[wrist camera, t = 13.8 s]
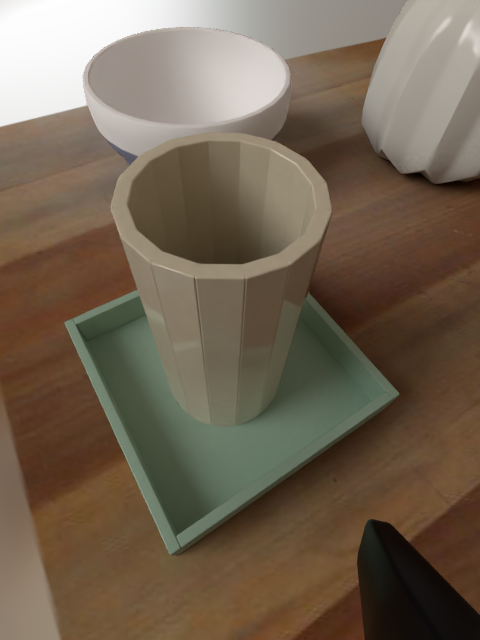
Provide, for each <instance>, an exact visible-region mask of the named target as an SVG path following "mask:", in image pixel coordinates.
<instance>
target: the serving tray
mask: <svg viewBox="0 0 480 640" xmlns="http://www.w3.org/2000/svg"><path fill="white" fill-rule="evenodd" d="M65 325H66V328H67V330H68V332H69V334H70V336H71V339H72V341H73V343H74V345H75V347H76V350H77V352H78V354H79V356H80V358H81V361H82V363H83V365H84V367H85V369H86V372H87V374H88V376H89V378H90V380H91V383H92V385H93V387H94V389H95V391H96V394H97V396H98V398H99V400H100V402H101V405H102V407H103V409H104V411H105V413H106V416H107V418H108V420H109V422H110V424H111V427H112V429H113V431H114V433H115V435H116V438H117V440H118V442H119V444H120V446H121V449H122V451H123V453H124V455H125V457H126V460H127V462H128V464H129V466H130V468H131V471H132V473H133V475H134V477H135V479H136V482H137V484H138V486H139V488H140V490H141V493H142V495H143V497H144V499H145V501H146V503H147V506H148V508H149V510H150V512H151V514H152V517H153V519H154V521H155V523H156V525H157V528H158V530H159V532H160V534H161V536H162V539H163V541H164V543H165V545H166V547H167V550H168V552H169V554H170V555H176V556H178V555H179V554H181V553H182V552H183V551H185V550H186V549H188V548H189V547H190V546H192V545H193V544H195V543H196V542H198V541H199V540H200V539H202V538H203V537H205V536H206V535H207V534H209V533H210V532H212V531H213V530H214V529H216V528H217V527H219V526H220V525H222V524H223V523H224V522H226V521H227V520H229V519H230V518H231V517H233V516H234V515H236V514H237V513H238V512H240V511H241V510H243V509H244V508H246V507H247V506H248V505H250V504H251V503H253V502H254V501H255V500H257V499H258V498H260V497H261V496H263V495H264V494H265V493H267V492H268V491H270V490H271V489H272V488H274V487H275V486H277V485H278V484H279V483H281V482H282V481H284V480H285V479H287V478H288V477H289V476H291V475H292V474H294V473H295V472H296V471H298V470H299V469H301V468H302V467H303V466H305V465H306V464H308V463H309V462H311V461H312V460H313V459H315V458H316V457H318V456H319V455H320V454H322V453H323V452H325V451H326V450H328V449H329V448H330V447H332V446H333V445H335V444H336V443H337V442H339V441H340V440H342V439H343V438H344V437H346V436H347V435H349V434H350V433H352V432H353V431H354V430H356V429H357V428H359V427H360V426H361V425H363V424H364V423H366V422H367V421H368V420H370V419H371V418H373V417H374V416H376V415H377V414H378V413H380V412H381V411H383V410H384V409H385V408H386V407H387V406H388V405H389V404H390V403H391V402H392V401H393V400H394V399H395V398H396V397H397V396H399V392H398V391H397V390H396V389H395V388H394V387H393V386H392V385H391V383H390V382H389V381H388V380H387V379H386V378H385V377H384V376H383V375H382V373H381V372H380V371H379V370H378V369H377V368H376V367H375V366H374V365H373V363H372V362H371V361H370V360H369V359H368V358H367V357H366V356H365V355H364V353H363V352H362V351H361V350H360V349H359V348H358V347H357V346H356V345H355V343H354V342H353V341H352V340H351V339H350V338H349V337H348V336H347V335H346V333H345V332H344V331H343V330H342V329H341V328H340V327H339V326H338V324H337V323H336V322H335V321H334V320H333V319H332V318H331V317H330V316H329V314H328V313H327V312H326V311H325V310H324V309H323V308H322V307H321V306H320V304H319V303H318V302H317V301H316V300H315V299H314V298H313V297H312V296H311V294H310V293H309V292H308V295H307V298H306V301H305V305H304V308H303V311H302V314H301V318H300V321H299V324H298V328H297V331H296V334H295V338H294V341H293V344H292V347H291V351H290V354H289V357H288V361H287V364H286V367H285V370H284V374H283V377H282V380H281V383H280V385H279V388H278V391H277V394H276V396H275V398H274V400H273V401H272V403H271V404H270V406H269V407H268V408H267V409H266V410H265V411H264V412H263V413H262V414H261V415H259V416H258V417H256V418H255V419H253V420H251V421H249V422H247V423H244V424H241V425H236V426H230V427H219V426H212V425H208V424H205V423H202V422H200V421H198V420H196V419H194V418H192V417H191V416H189V415H188V414H187V413H186V412H185V411H184V410H182V408H181V407H180V406H179V405H178V403H177V402H176V400H175V399H174V397H173V395H172V392H171V389H170V386H169V383H168V380H167V377H166V374H165V371H164V368H163V365H162V362H161V359H160V356H159V353H158V350H157V347H156V344H155V341H154V338H153V335H152V332H151V329H150V326H149V323H148V320H147V317H146V314H145V311H144V308H143V305H142V302H141V299H140V296H139V293H138V290H136V291H133V292H131V293H129V294H127V295H124V296H122V297H120V298H118V299H115V300H113V301H111V302H109V303H106V304H104V305H102V306H100V307H97V308H95V309H93V310H91V311H88V312H86V313H84V314H82V315H79V316H77V317H75V318H73V319H70V320H68V321H66V322H65Z"/></svg>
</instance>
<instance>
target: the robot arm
mask: <svg viewBox="0 0 480 640" xmlns="http://www.w3.org/2000/svg"><path fill="white" fill-rule="evenodd" d="M357 567H358V577H359V587H360V596H361V606H362V616H363V625H364V635H365V640H480V615H479V614H478V613H477V612H476V611H475V610H474V609H473V608H472V607H471V605H470V604H469V603H468V602H467V601H466V600H465V599H464V598H463V597H462V596H461V595H460V594H459V593H458V592H457V591H456V590H455V589H454V588H453V587H452V586H451V585H450V584H449V583H448V582H447V581H446V580H445V579H444V578H443V577H442V576H441V575H440V574H439V573H438V572H437V571H436V570H435V569H434V568H433V567H432V566H431V565H430V563H429V562H428V561H427V560H426V559H425V558H424V557H423V556H422V555H421V554H420V553H419V552H418V551H417V550H416V549H415V548H414V547H413V546H412V545H411V544H410V543H409V542H408V541H407V540H406V539H405V538H404V537H403V536H402V535H401V534H400V533H399V532H398V531H397V530H396V529H395V528H394V527H393V526H392V525H391V524H390V523H388V522H383V521H378V520H374V519H370V520H368V521H367V523H366V525H365V529H364V532H363V536H362V540H361V544H360V548H359V551H358V558H357Z"/></svg>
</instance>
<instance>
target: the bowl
mask: <svg viewBox="0 0 480 640" xmlns="http://www.w3.org/2000/svg"><path fill="white" fill-rule="evenodd" d="M83 86H84V92H85V97H86V101H87V105H88V107H89V110H90V112H91V115H92V117H93V120H94V122H95V124H96V126H97V128H98V130H99V132H100V133H101V134H102V135H103V136H104V137H105V138H106V140H107V141H108V142H109V143H110V145H111V146H112V147H113V148H114V149H115V150H116V151H117V152H118V153H119V154H120V155H121V156H123V157H124V158H125V160H126V161H127V162H128V163H129V164H130V165H131V164H132V163H133V162H134V161H135V159H136V158H137V157H138V156H140V155H141V154H143V153H145V152H147V151H149V150H151V149H153V148H155V147H157V146H159V145H161V144H163V143H164V142H166V141H168V140H171V139H175V138H180V137H185V136H190V135H195V134H199V133H204V132H205V133H207V132H221V133H242V134H243V133H245V134H249V135H253V136H257V137H261V138H264V139H268V140H272V141H274V139H275V138H276V136H277V134H278V132H279V131H280V130H281V128H282V126H283V124H284V122H285V120H286V117H287V112H288V108H289V103H290V96H291V73H290V69H289V67H288V65H287V64H286V62H285V61H284V59H283V58H282V57H281V56H280V55H279V54H278V53H277V52H276V51H275V50H273V49H272V48H270V47H268V46H267V45H265V44H264V43H262V42H260V41H257V40H255V39H253V38H250V37H248V36H245V35H241V34H237V33H234V32H229V31H224V30H218V29H211V28H199V27H179V28H178V27H177V28H164V29H157V30H151V31H146V32H142V33H138V34H134V35H131V36H128V37H125V38H123V39H120V40H118V41H116V42H114V43H112V44H110V45H108V46H106V47H104V48H103V49H102V50H100V51H99V52H98V53H97V54H96V55H94V56H93V58H92V59H91V61H90V62H89V63H88V64H87V66H86V68H85V71H84V74H83Z"/></svg>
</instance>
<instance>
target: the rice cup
mask: <svg viewBox="0 0 480 640" xmlns="http://www.w3.org/2000/svg"><path fill="white" fill-rule="evenodd" d="M111 212H112V215H113V218H114V221H115V224H116V227H117V230H118V233H119V236H120V239H121V242H122V245H123V248H124V251H125V254H126V257H127V260H128V263H129V266H130V269H131V272H132V275H133V278H134V281H135V284H136V287H137V290H138V293H139V296H140V299H141V302H142V305H143V308H144V311H145V314H146V317H147V320H148V323H149V326H150V329H151V332H152V335H153V338H154V341H155V344H156V347H157V350H158V353H159V356H160V359H161V362H162V365H163V368H164V371H165V374H166V377H167V380H168V383H169V386H170V389H171V392H172V395H173V397H174V399H175V400H176V402H177V403H178V405H179V406H180V407H181V408H182V410H184V411H185V412H186V413H187V414H188V415H189V416H191V417H192V418H194V419H196V420H198V421H200V422H202V423H205V424H208V425H212V426H219V427H230V426H236V425H241V424H244V423H247V422H249V421H251V420H253V419H255V418H256V417H258V416H259V415H261V414H262V413H263V412H264V411H265V410H266V409H267V408H268V407H269V406H270V404H271V403H272V401H273V400H274V398H275V396H276V394H277V391H278V388H279V385H280V383H281V380H282V377H283V374H284V370H285V367H286V364H287V361H288V357H289V354H290V351H291V347H292V344H293V341H294V338H295V334H296V331H297V328H298V324H299V321H300V318H301V314H302V311H303V308H304V305H305V301H306V298H307V295H308V291H309V288H310V285H311V282H312V278H313V275H314V272H315V268H316V265H317V262H318V259H319V255H320V252H321V249H322V245H323V242H324V239H325V235H326V232H327V229H328V226H329V222H330V219H331V216H332V206H331V201H330V196H329V191H328V186H327V183H326V181H325V180H324V179H323V178H322V176H321V175H320V174H319V173H318V171H317V170H316V169H315V168H314V167H313V165H312V164H311V163H310V162H309V161H308V160H307V159H306V158H304V157H303V156H301V155H299V154H298V153H296V152H294V151H292V150H291V149H289V148H287V147H285V146H284V145H282V144H280V143H277V142H276V141H272V140H268V139H264V138H261V137H257V136H253V135H249V134H245V133H243V134H242V133H221V132H207V133H205V132H204V133H199V134H195V135H190V136H185V137H180V138H175V139H171V140H168V141H166V142H164V143H163V144H161V145H159V146H157V147H155V148H153V149H151V150H149V151H147V152H145V153H143V154H141V155H140V156H138V157H137V158H136V159H135V161H134V162H133V163H132V164H131V165H130V166H129V167H128V168H127V169H126V170H125V171H124V172H123V173H122V174H121V176H120V177H119V179H118V180H117V184H116V188H115V191H114V195H113V199H112V203H111Z"/></svg>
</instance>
